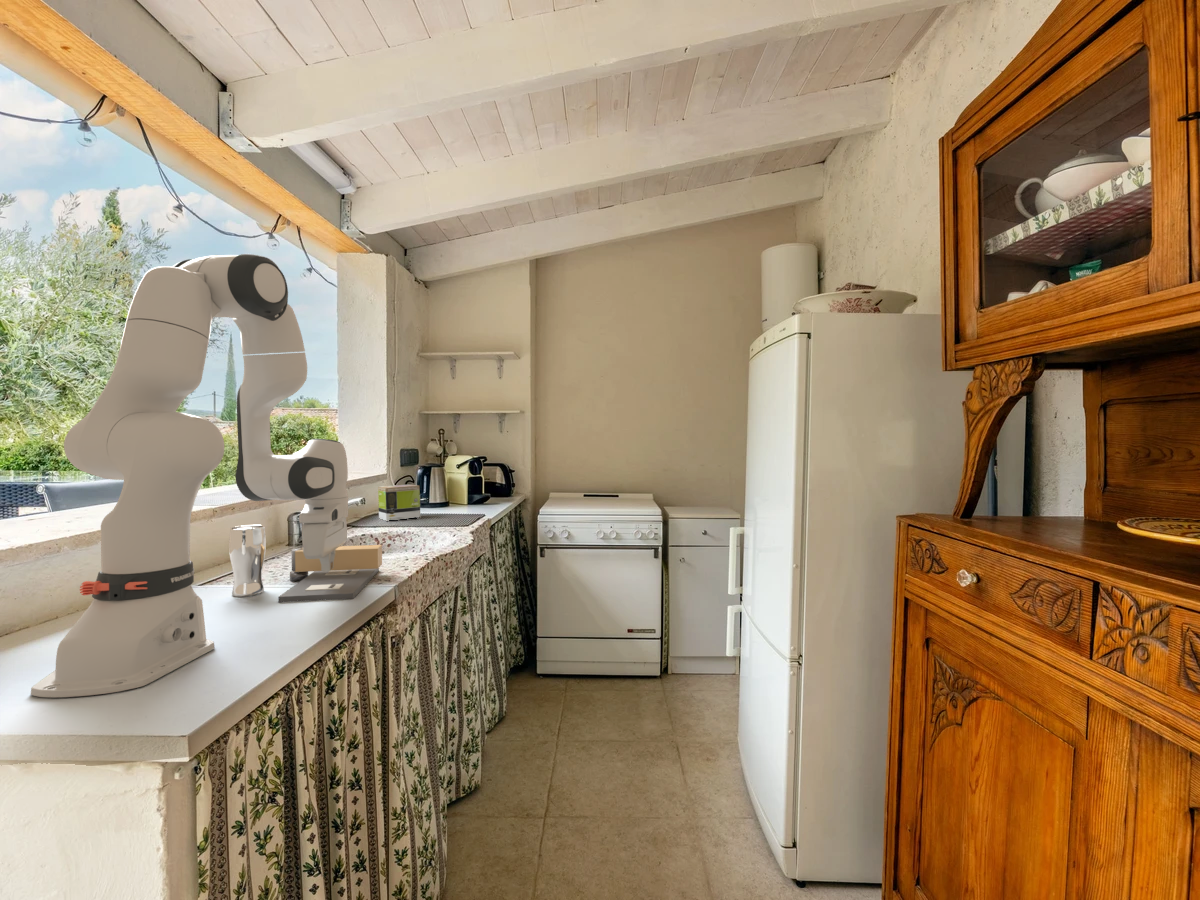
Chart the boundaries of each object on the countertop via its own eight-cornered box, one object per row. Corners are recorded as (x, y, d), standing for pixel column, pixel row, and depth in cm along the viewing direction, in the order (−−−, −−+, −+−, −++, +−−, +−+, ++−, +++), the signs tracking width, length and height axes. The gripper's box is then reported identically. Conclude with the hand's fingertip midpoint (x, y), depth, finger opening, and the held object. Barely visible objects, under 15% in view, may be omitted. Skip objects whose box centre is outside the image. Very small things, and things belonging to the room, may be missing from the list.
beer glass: (248, 598, 120) (247, 529, 120) (221, 596, 122) (220, 528, 122) (273, 589, 127) (272, 525, 127) (247, 588, 129) (247, 524, 128)
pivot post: (305, 581, 135) (305, 573, 135) (287, 581, 134) (287, 573, 134) (310, 577, 139) (310, 569, 139) (293, 577, 138) (293, 570, 138)
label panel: (353, 598, 120) (353, 591, 120) (278, 602, 117) (278, 595, 117) (378, 570, 146) (378, 565, 146) (317, 573, 143) (317, 567, 143)
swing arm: (377, 568, 138) (377, 548, 137) (288, 572, 134) (288, 551, 134) (382, 564, 142) (381, 544, 142) (295, 567, 139) (295, 547, 139)
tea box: (412, 516, 250) (412, 483, 249) (420, 518, 242) (420, 485, 242) (378, 519, 240) (377, 485, 240) (385, 522, 232) (385, 487, 232)
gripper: (326, 505, 136) (326, 561, 136) (295, 516, 115) (296, 582, 116) (353, 504, 137) (354, 559, 137) (328, 515, 117) (329, 580, 117)
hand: (327, 570), depth 126 cm, fingers closed
